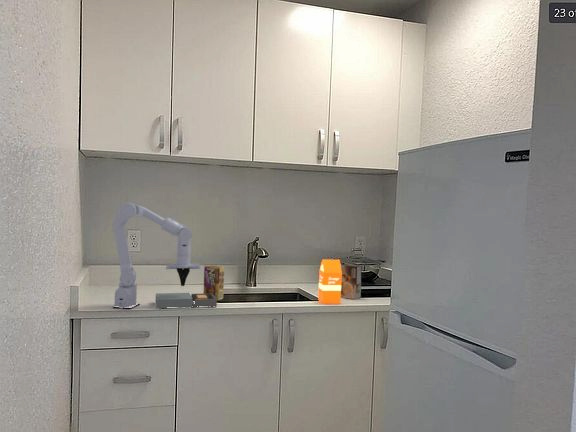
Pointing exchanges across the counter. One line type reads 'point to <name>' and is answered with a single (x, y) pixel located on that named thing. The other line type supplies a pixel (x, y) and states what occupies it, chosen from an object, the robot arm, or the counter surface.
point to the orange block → (201, 297)
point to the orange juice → (330, 281)
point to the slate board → (173, 300)
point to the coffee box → (351, 281)
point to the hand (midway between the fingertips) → (182, 285)
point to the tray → (204, 300)
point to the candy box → (214, 281)
